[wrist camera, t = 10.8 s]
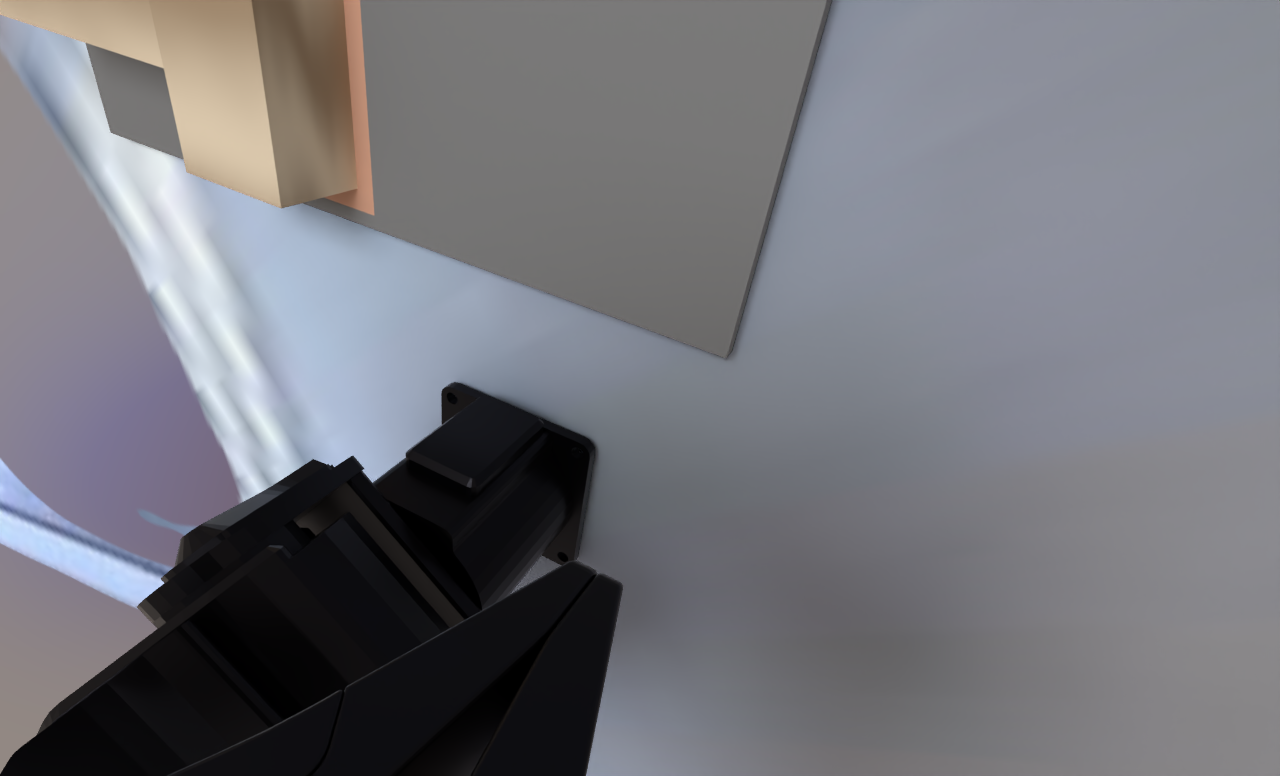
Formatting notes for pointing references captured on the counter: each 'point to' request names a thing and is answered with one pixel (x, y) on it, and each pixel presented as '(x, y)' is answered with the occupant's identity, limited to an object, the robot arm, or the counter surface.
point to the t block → (235, 84)
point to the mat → (563, 141)
